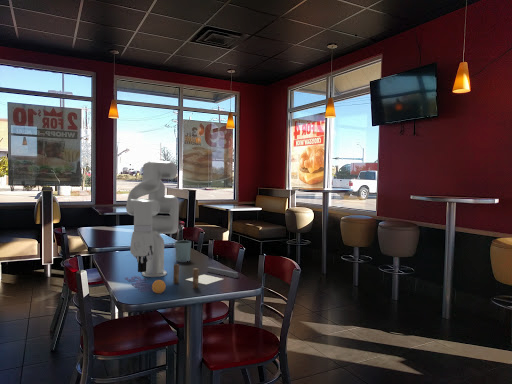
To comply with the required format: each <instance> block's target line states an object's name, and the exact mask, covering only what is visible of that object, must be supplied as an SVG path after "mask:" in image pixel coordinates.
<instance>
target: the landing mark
mask: <svg viewBox="0 0 512 384" xmlns="http://www.w3.org/2000/svg"><path fill="white" fill-rule="evenodd" d="M185 281H189V282H192V283H193V277H189V278H186V279H185ZM220 281H224V278H222V277H217V276H213V275H207V274H200V275H199V278H198V284H201V285H210V284H213V283H216V282H220Z"/></svg>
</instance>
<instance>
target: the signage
mask: <svg viewBox="0 0 512 384" xmlns="http://www.w3.org/2000/svg"><path fill="white" fill-rule="evenodd" d="M124 280H126V281H128V282H129V283H131V286H132V287H134V288H136V289H137V290H138V291H139V292H141V293H143V292H145V293H146V292H154V291H153V290H152V284H150V283H147V282H146V281H148V278H142V277H140V276H136V275H135V276H132V277H130V278H129V277H124ZM133 282H134V283H133Z"/></svg>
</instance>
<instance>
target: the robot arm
mask: <svg viewBox="0 0 512 384" xmlns="http://www.w3.org/2000/svg"><path fill="white" fill-rule="evenodd" d="M142 172H143V174H142V179H141V182H140V183H138V184H137V185H135V186H133V188H132V189H131V190H130V191H129V193H128V196H127V199H126V207H125V209H126V212H127V214H128V215H130V216H133V231H132V234H131V239H130V241H131V242H130V251H129V252H130V254H131V255H132V256H133V257H134V258H135V259H136V262H137V272H138V273H141V275H142V276H143V277H147V278H160V277H165V276H166V275H167V271H166V270H165V240H164V238H163V237H162V235H161V234H168V235H169V234H171V235H172V234H177V233H178V231H179V216H180V215H179V211H180V207H179V199H178V197H177V196H175V195H166V186H165V183H164V182H163V181H162V179H163V180H164V179H165V180H173V179H175V178H176V177H177V174H178V167H177V165H176V163H174V162H173V161H163V160H151V161H147V162H145V163H144V164H143V165H142ZM144 196H148V198H141V197H144ZM158 214H169V215H158Z"/></svg>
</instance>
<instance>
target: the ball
mask: <svg viewBox="0 0 512 384" xmlns="http://www.w3.org/2000/svg"><path fill="white" fill-rule="evenodd" d="M166 287H167V286H166V283H165V281H164V280H162V279H156V280H154V282H153V283H152V284H151V288H152V290H153V291H152V292H154V293H155V294H162V293H163V292H165V291H166Z"/></svg>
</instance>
